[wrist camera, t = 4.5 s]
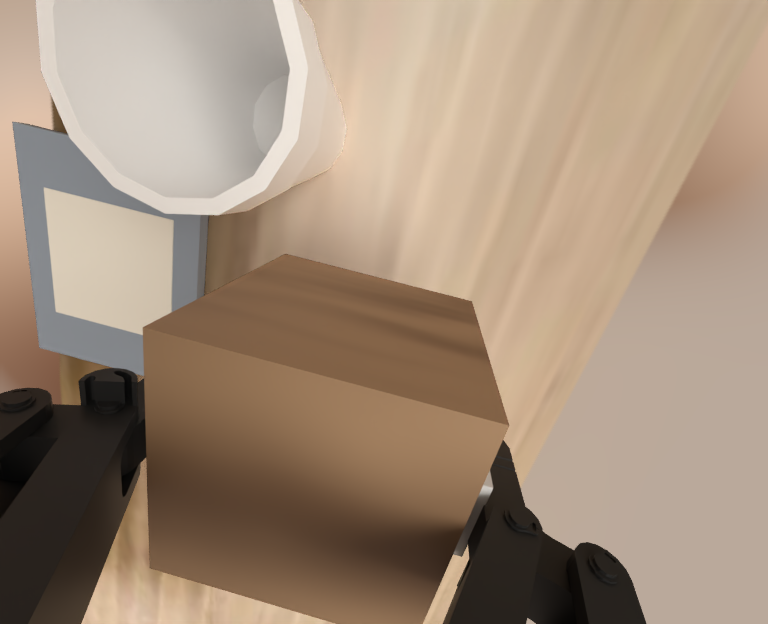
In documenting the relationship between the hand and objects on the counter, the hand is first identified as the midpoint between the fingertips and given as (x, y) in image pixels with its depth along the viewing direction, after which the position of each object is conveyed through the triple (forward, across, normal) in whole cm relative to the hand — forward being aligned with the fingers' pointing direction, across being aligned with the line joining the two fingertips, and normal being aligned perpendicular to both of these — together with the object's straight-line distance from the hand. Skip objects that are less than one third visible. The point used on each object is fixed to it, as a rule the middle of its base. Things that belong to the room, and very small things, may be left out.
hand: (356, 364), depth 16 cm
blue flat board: (+12, -21, -4) cm, 25 cm away
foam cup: (+12, -8, +9) cm, 17 cm away
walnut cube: (0, 0, 0) cm, 0 cm away
